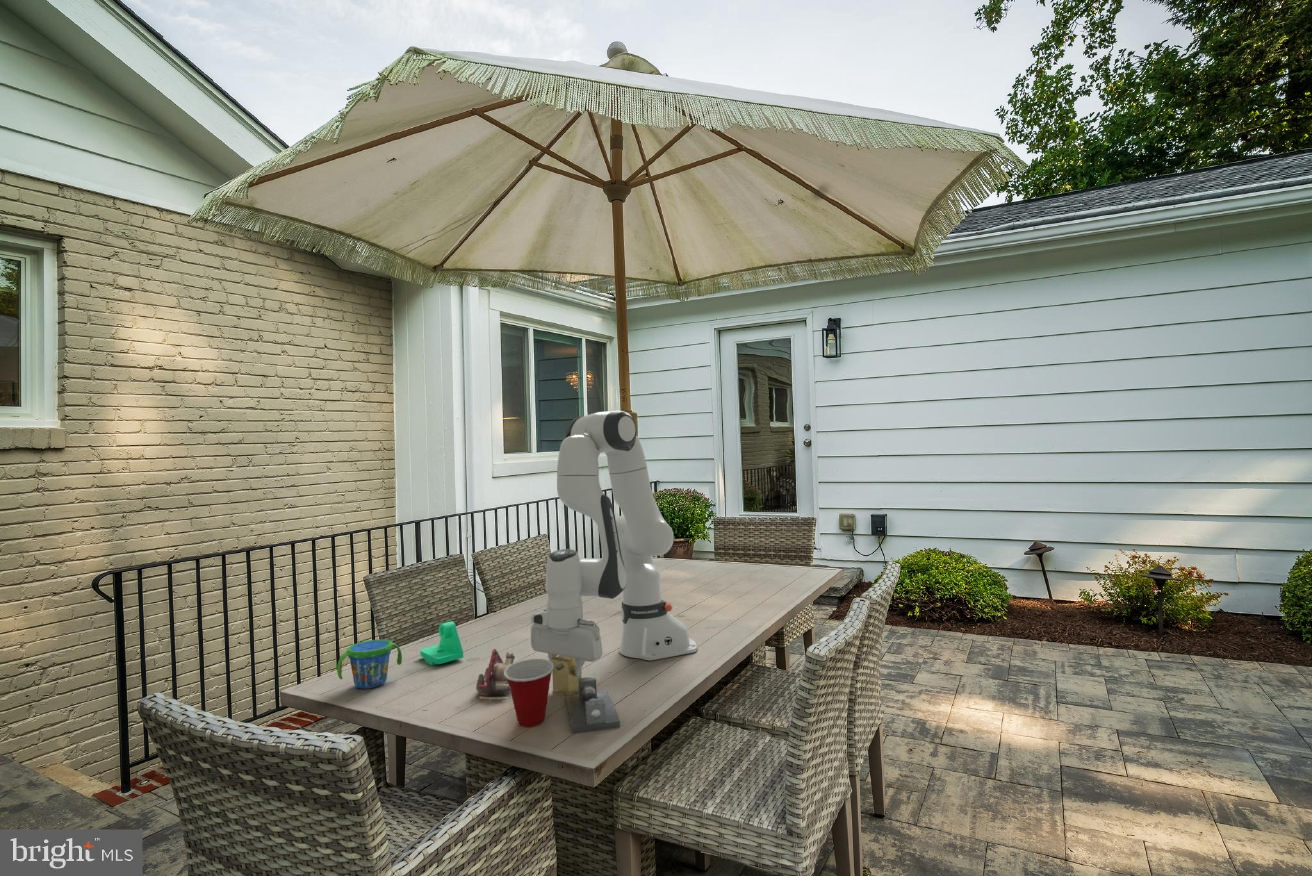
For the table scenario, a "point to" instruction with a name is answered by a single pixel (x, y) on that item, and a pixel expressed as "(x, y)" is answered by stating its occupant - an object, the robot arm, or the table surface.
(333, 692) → the table surface
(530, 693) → the plastic cup
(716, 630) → the table surface
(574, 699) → the shaft stand
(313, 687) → the table surface
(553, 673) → the block
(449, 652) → the camera mount
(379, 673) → the snack cup
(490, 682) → the brake caliper
